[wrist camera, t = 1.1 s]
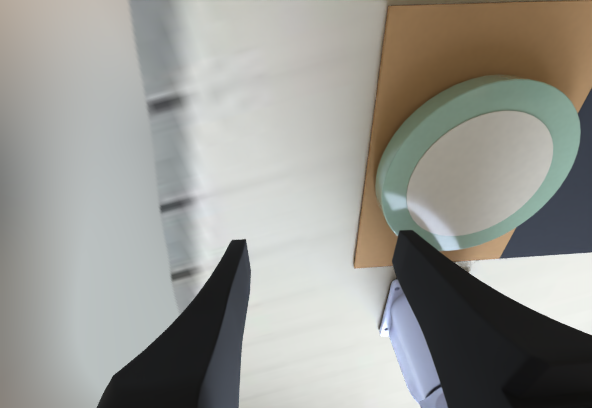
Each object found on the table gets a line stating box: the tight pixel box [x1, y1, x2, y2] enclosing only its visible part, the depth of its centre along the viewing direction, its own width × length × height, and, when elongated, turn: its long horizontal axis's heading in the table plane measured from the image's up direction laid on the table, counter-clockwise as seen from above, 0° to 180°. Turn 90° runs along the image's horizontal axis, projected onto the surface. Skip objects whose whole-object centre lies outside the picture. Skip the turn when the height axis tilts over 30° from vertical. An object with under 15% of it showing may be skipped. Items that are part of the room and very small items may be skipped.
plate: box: [375, 74, 581, 251], centre depth 20 cm, size 13×13×2 cm
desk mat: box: [354, 0, 592, 268], centre depth 21 cm, size 20×32×1 cm, turn 91°
